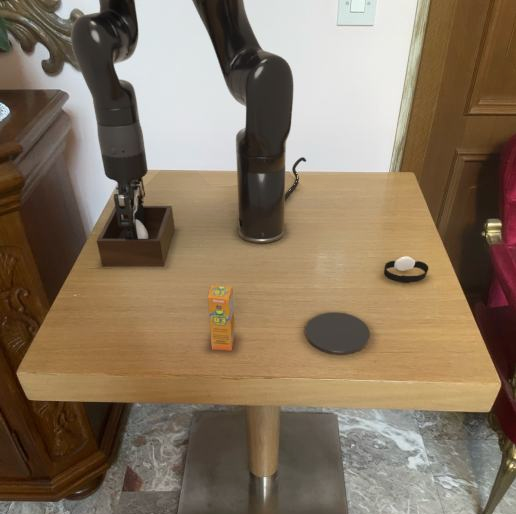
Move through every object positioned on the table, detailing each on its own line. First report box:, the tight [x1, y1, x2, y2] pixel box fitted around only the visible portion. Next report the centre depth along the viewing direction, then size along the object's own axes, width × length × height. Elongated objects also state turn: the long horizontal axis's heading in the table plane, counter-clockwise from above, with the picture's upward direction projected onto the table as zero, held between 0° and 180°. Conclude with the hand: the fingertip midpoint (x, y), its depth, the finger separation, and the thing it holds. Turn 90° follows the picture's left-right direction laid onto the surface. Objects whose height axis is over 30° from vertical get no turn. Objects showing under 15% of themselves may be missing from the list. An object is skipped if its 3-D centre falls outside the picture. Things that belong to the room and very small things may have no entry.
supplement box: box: [207, 284, 236, 352], centre depth 77 cm, size 3×3×10 cm
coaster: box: [304, 311, 371, 356], centre depth 82 cm, size 10×10×1 cm
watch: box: [383, 255, 429, 284], centre depth 93 cm, size 8×5×4 cm, turn 88°
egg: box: [136, 219, 149, 239], centre depth 102 cm, size 4×4×6 cm
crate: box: [96, 205, 176, 267], centre depth 102 cm, size 15×12×5 cm
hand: (136, 232), depth 101 cm, fingers open, 8 cm apart
